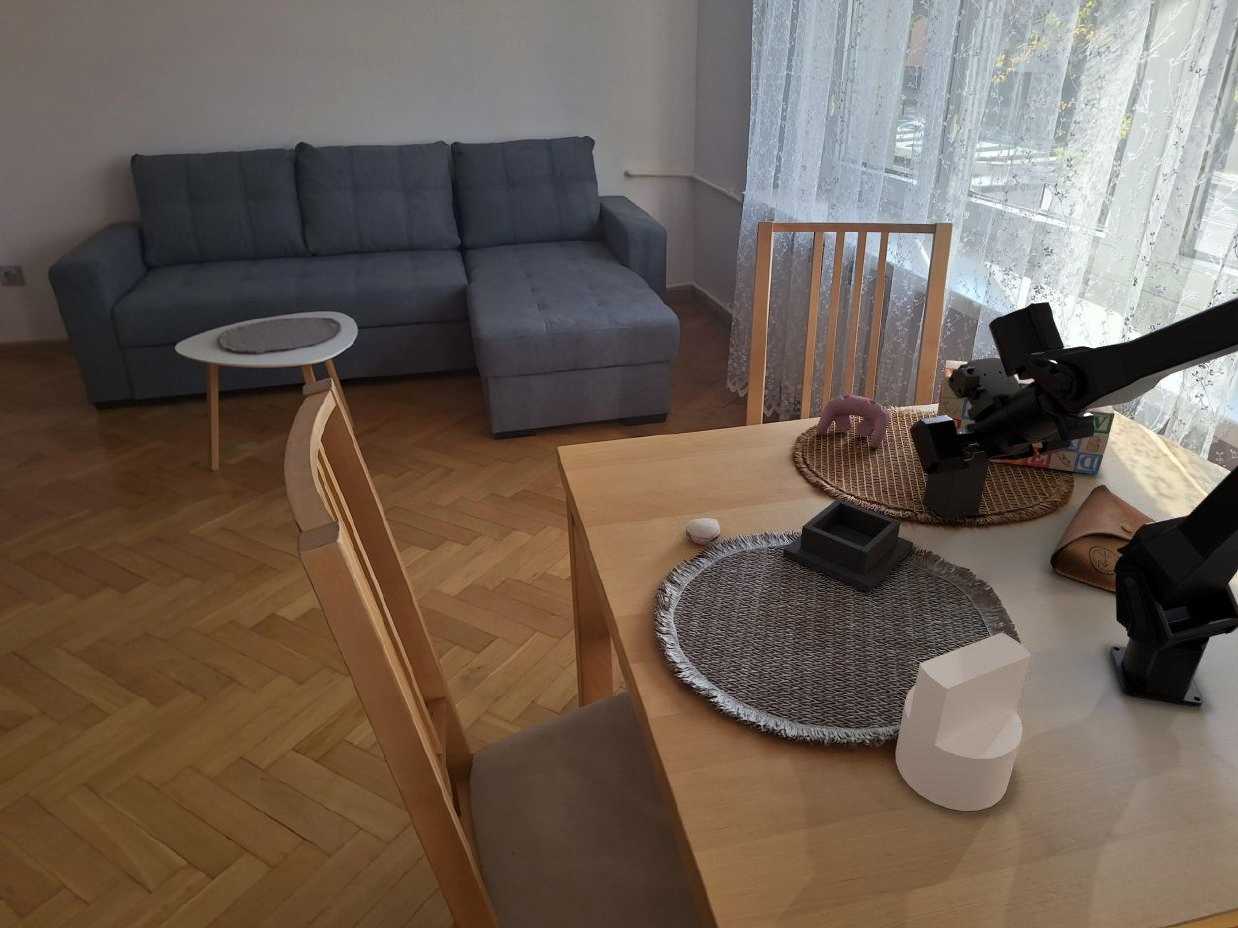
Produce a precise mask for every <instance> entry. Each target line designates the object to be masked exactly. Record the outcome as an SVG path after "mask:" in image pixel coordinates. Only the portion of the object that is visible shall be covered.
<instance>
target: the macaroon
mask: <svg viewBox="0 0 1238 928" xmlns="http://www.w3.org/2000/svg"><path fill="white" fill-rule="evenodd" d="M684 528H685V536H686V537H687V538H688V539H689V540H690V541H691V542H693V543H695V544H698V545H702V546H703V545H710V544H713V543H716V541H718V539H719V537H720V536H721V526H720V523H719V522H718V520H717V519H716V518H709V517H702V518H697V519H692V520H689V521H688V522H687V523H686V525H685V527H684Z"/></svg>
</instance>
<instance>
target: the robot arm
mask: <svg viewBox="0 0 1238 928" xmlns="http://www.w3.org/2000/svg"><path fill="white" fill-rule="evenodd" d="M988 330H989V332H990V334H991V337H992V340H993V343H994V345H995V348H996V351H997V353H998V357H995V356H991V357H986V358H985V357H984V358H977V359H972V360H969V361H967V362H968V363H967V364H962V365H960V367H959V368H958V369H954V370H953V371H952V375H951V376H950V378H949V380H948V384H949V386H950V388H951V389H952V391H953V392H954V394H955V395H956V397H957V398H967V399H968V400H969V402H970V403H971V404H972V405H973V407H972V408H970V409H969V410H967V412H968V415H969V418H970V420H974V421H975V423H970V424H967V425H965V429H966V432H967V433H966V434H965V433H959V431H958V430H957V429H956V426H955V423H954V420H952V419H951V418H949V417H948V416H946V415H945V416H938V417H937V416H933V417H927V418H921V419H919V420H917V421H916V422H914V423H912V424H911V427H910V428H909V433H910V436H911V439H912V442H913V445H914V448H915V451H916V455H917V457H918V461H919V464H920V467H921V470H922V473H925V474H926V475H927V476H928V475H933V474H938V473H944V472H949V471H956V470H962V469H967V468H970V467H969V464H968V460H971V459H972V458H973V457H974V454H975V453H980V452H985V453H986V456H987V459H993V460H1018V459H1023V458H1029V457H1033V456H1034V454H1035V451H1034V448H1033V446H1032V444H1034V443H1040V442H1041V443H1042V446H1043V447H1042V448H1040V449H1038V452H1039V454H1040V455H1045V454H1051V453H1057V452H1060V451H1062V450H1065V449H1067V448H1069V447H1070V444H1071V441H1072V440H1077V439H1083V438H1089V437H1092V436H1094V431H1095V426H1094V419H1095V416H1094V415H1093V414H1091V413H1090V412H1089V409H1093V408H1099V407H1105V406H1111V405H1112V406H1117V405H1123V404H1127V403H1130V402H1132V401H1134V400H1136V399H1138V398H1139V397H1141V396H1143V395H1145V394H1146V393H1149V392H1150V391H1151V390H1154V389H1155V388H1156V386H1157V385H1158V384H1159V383H1160V382H1161V381H1162V380H1163V379H1166V378H1167V377H1169V376H1170V375H1173V374H1175V373H1179V372H1181V371H1184V370H1187V369H1190V368H1193V367H1196V366H1199V365H1201V364H1205V363H1208V362H1211V361H1213V360H1216V359H1219V358H1222V357H1225V356H1228V355H1231V354H1235V353H1238V296H1236V297H1233V298H1231V299H1228V300H1226V301H1223V302H1221V303H1219V304H1216V305H1214V306H1212V307H1209V308H1206V309H1204V310H1201V311H1199V312H1197V313H1194V314H1192V315H1189V316H1187V317H1183V318H1182V319H1180V320H1178V321H1175V322H1173V323H1170V324H1167V325H1165V326H1162V327H1160V328H1158V329H1156V330H1153V331H1151V332H1148V333H1146V334H1143V335H1140V336H1138V337H1136V338H1134V339H1131V340H1128V341H1124V342H1119V343H1113V344H1107V345H1103V346H1102V345H1101V346H1093V345H1090V344H1083V345H1078V346H1069V347H1065V344H1064V342H1063V340H1062V337H1061V334H1060V332H1059V329H1058V327H1057V324H1056V321H1055V319H1054V314H1053V309H1052V307H1051V305H1050V302H1049V301H1048V300H1044V301H1036V302H1031V303H1030V304H1029V305H1027V306H1025V307H1022V308H1020V309H1016V310H1014V311H1011V312H1009V313H1007V314H1004V315H1002V316H998V317H995V318H993V320H992V321H990V323H988ZM1016 374H1017V375H1018V378H1019V380H1028V379H1033V380H1034V381H1033V382H1031V383H1029V384H1028V385H1026V386H1025V387H1023V388H1021V389H1020V388H1019V386H1018V381H1017V379H1016V378H1015V377H1014V375H1016ZM969 432H972V433H969ZM975 443H978V444H975ZM969 444H973V445H969ZM974 444H975V445H974ZM1117 551H1118V552H1119V553H1121V554H1123V555H1122V556H1121V557H1119V559H1118V560H1117V562H1116V564H1115V567H1114V572H1115V574H1116V578H1115V587H1116V592H1115V619H1116V622H1117V623H1118V624H1120V626H1122V627H1124V628H1125V631H1126V636H1127V637H1128V641H1127V644H1126V646H1120V645H1112V646H1111V647H1110V648H1109V652H1110V656H1111V659H1112V662H1113V665H1114V668H1115V671H1116V674H1117V678H1118V681H1119V684H1120V686H1121V691H1122V692H1123V693H1124V694H1126V695H1129V696H1133V697H1141V698H1147V699H1152V700H1158V701H1164V702H1169V703H1177V704H1180V705H1181V704H1182V705H1189V706H1194V707H1202V705H1203V704H1204V699H1203V696H1202V694H1201V691H1200V689H1199V687H1198V685H1197V682H1196V680H1195V676H1196V673H1197V670H1198V669H1199V666H1200V662H1201V661H1202V658H1203V657H1204V656H1203V655H1204V653H1205V651H1206V648H1207V646H1208V644H1209V641H1210V638H1212V637H1215V636H1216V637H1217V636H1219V635H1220V636H1221V635H1227V634H1232V633H1233V632H1234V631H1236V630H1237V629H1238V602H1237V599H1236V597H1235V594H1234V593H1233V589H1232V588H1231V585H1230V582H1231V581H1232V580H1233V578H1234V577H1235V575H1236V574H1237V572H1238V464H1236V466H1234V467H1233V469H1232V470H1231V471H1230V472H1229V473H1228V474H1227V475H1225V477H1224V478H1223V479H1222V480H1221V481H1220V482H1219V483H1218V484H1217V485H1216V486H1215V487H1214V488H1213V489H1211V491H1210V492H1209V493H1208V494H1207V495H1206V496H1205V497H1204V498H1203V499H1202V500H1201V502H1199V504H1197V505H1196V507H1195V508H1194V509H1193V510H1191V512H1190V513H1188V514H1186V515H1181V516H1177V517H1171V518H1166V519H1162V520H1157V521H1156V522H1152V523H1147V524H1143V525H1142V526H1141V527H1140V528H1139V529H1138V530H1137V531H1136V532H1135V534H1134V536H1133V537H1132V539H1131V540H1130V542H1129V543H1128V544H1127V545H1125V546H1124V547H1121V548H1118V549H1117Z"/></svg>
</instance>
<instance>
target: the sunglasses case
mask: <svg viewBox="0 0 1238 928" xmlns="http://www.w3.org/2000/svg"><path fill="white" fill-rule="evenodd" d="M1152 522H1157V521H1156V520H1155V519H1153V518H1151V517H1149V515H1146V514H1145V513H1143V511H1141V510H1139V509H1138V508H1136V507H1135V506H1133V505H1131V504H1130V503H1128V502H1127V501H1126V500H1124V499H1122V498H1121V497H1119V496H1117V494H1115V493H1113V492H1112V491H1111V490H1110V489H1109V488H1108V487H1107V485H1106V484H1100V485H1097V486H1096V487H1094V488H1092V490H1091V491H1090V492H1089V494H1088V495H1087V497H1086V498H1085V499H1084V500H1083V502H1082V504H1081V505H1080V507H1079V508H1078V510H1077V511H1076V512H1075V514H1074V516H1073V517H1072V519H1071V521H1070V523H1068V526H1067V527H1066V529H1065V530H1064V532H1063V534H1062V535H1061V537H1060V539H1059V540H1058V542H1057V545H1055V547H1054V549H1053V552H1052V553H1051V556H1050V561H1049V564H1050V565H1051V568H1052V570H1053V571H1054V572H1055V573H1056V574H1057V575H1060V576H1063V577H1065V578H1068V579H1070V580H1073V581H1074V582H1078V583H1079V584H1080V583H1081V584H1082V585H1083V584H1084V585H1086V586H1090V587H1093V588H1097V589H1100V590H1105V591H1108V592H1112V593H1116V587H1115V578H1116V574H1115V572H1114V567H1115V564H1116V562H1117V560H1118V559H1119V557H1121V556H1122V555H1123V554H1121V553H1119V552H1118V551H1117V549H1118V548H1121V547H1124V546H1125V545H1127V544H1128V543H1129V542H1130V540H1131V539H1132V537H1133V536H1134V534H1135V532H1136V531H1137V530H1138V529H1139V528H1140V527H1141V526H1142V525H1143V524H1147V523H1152Z"/></svg>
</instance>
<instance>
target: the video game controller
mask: <svg viewBox="0 0 1238 928" xmlns="http://www.w3.org/2000/svg"><path fill="white" fill-rule="evenodd" d="M851 416H854V417H855V416H856V417H860V418H863V419H862V420H860V421H859V422H858V423H857V424H856V428H855V429H856V430H855V431H856V433H857V434H858V435H859V436H861V437H865V438H866V437H870V436H871V435H872V437H871V445H872V448H874V449H877V448H878V447H880V445H881V444H882V442H883V440H884V437H885V435H886V433H887V429H888V425H889V423H890V421H891V413H890V411H889V409H888V408H887V407H885V406H884V405H882V404H881V403H880V402H878V401H876V400H874V399H871V398H869V397H866V396H861V395H853V394H850V395H847V394H846V395H836V396H835V397H832V398H831V399H830V400H828V402H827V403H826V405H825V406H824V408H823V411H822V413H821V415H820V417H819V420H818V423H817V426H816V427H817V428H816V433H817V435H818V436H823V435H825V433H826V432H827V431H828V429H829V428H830V427H831V425H832V423H833V422H834V423H835V427H836V429H837V430H838V431H839V432H844V433H846V432H849V431H851V429H852V428H853V420H852V418H851Z"/></svg>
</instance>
